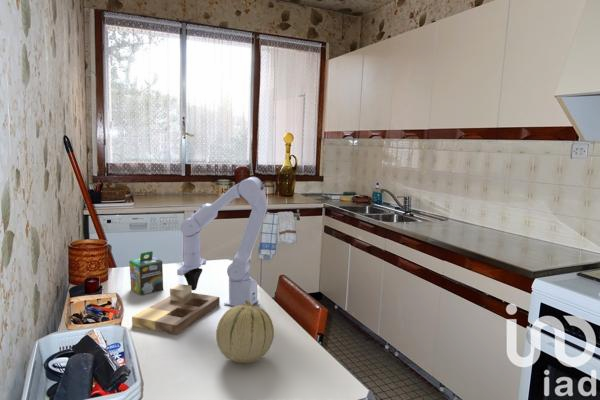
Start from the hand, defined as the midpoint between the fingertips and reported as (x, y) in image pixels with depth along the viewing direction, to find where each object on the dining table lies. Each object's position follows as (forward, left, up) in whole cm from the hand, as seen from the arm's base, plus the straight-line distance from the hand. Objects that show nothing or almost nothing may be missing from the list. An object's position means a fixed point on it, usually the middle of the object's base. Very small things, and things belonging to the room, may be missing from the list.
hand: (192, 289), depth 150 cm
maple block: (0, +7, -1) cm, 7 cm away
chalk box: (+22, -2, -4) cm, 22 cm away
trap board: (-3, +13, -4) cm, 14 cm away
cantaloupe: (-36, +30, -4) cm, 47 cm away
